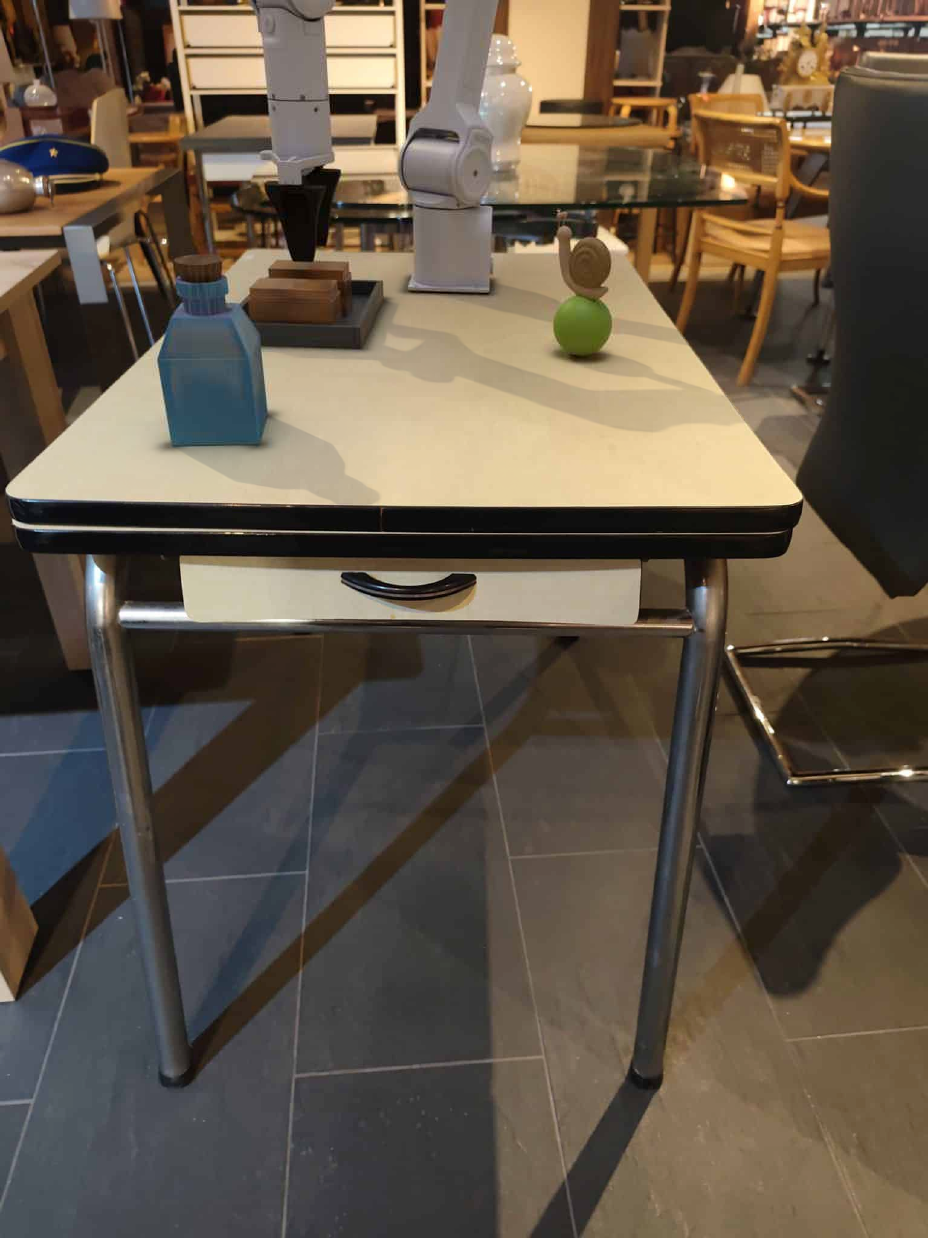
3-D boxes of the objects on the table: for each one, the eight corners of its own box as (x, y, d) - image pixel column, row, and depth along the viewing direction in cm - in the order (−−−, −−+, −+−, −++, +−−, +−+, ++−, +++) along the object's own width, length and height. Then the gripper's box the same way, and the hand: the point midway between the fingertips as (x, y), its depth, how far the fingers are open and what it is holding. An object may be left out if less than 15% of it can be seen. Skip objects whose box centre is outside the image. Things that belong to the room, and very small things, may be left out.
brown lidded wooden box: (353, 305, 95) (350, 261, 93) (346, 316, 91) (344, 270, 89) (279, 303, 95) (275, 259, 93) (269, 314, 92) (265, 268, 89)
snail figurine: (568, 340, 88) (579, 208, 81) (620, 355, 84) (636, 217, 77) (531, 351, 84) (540, 214, 78) (583, 366, 81) (597, 224, 74)
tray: (383, 298, 100) (383, 280, 99) (361, 348, 84) (360, 326, 83) (267, 295, 100) (265, 276, 99) (223, 344, 84) (220, 322, 83)
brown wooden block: (342, 326, 88) (339, 279, 86) (335, 339, 85) (332, 290, 82) (262, 324, 88) (257, 277, 86) (251, 336, 85) (246, 287, 82)
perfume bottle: (186, 414, 69) (160, 249, 62) (267, 413, 69) (250, 250, 62) (171, 445, 63) (141, 269, 57) (259, 444, 64) (239, 269, 57)
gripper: (272, 93, 89) (285, 238, 97) (237, 103, 77) (254, 267, 85) (342, 95, 89) (349, 239, 97) (317, 105, 77) (328, 269, 84)
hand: (310, 253), depth 91 cm, fingers open, 7 cm apart
